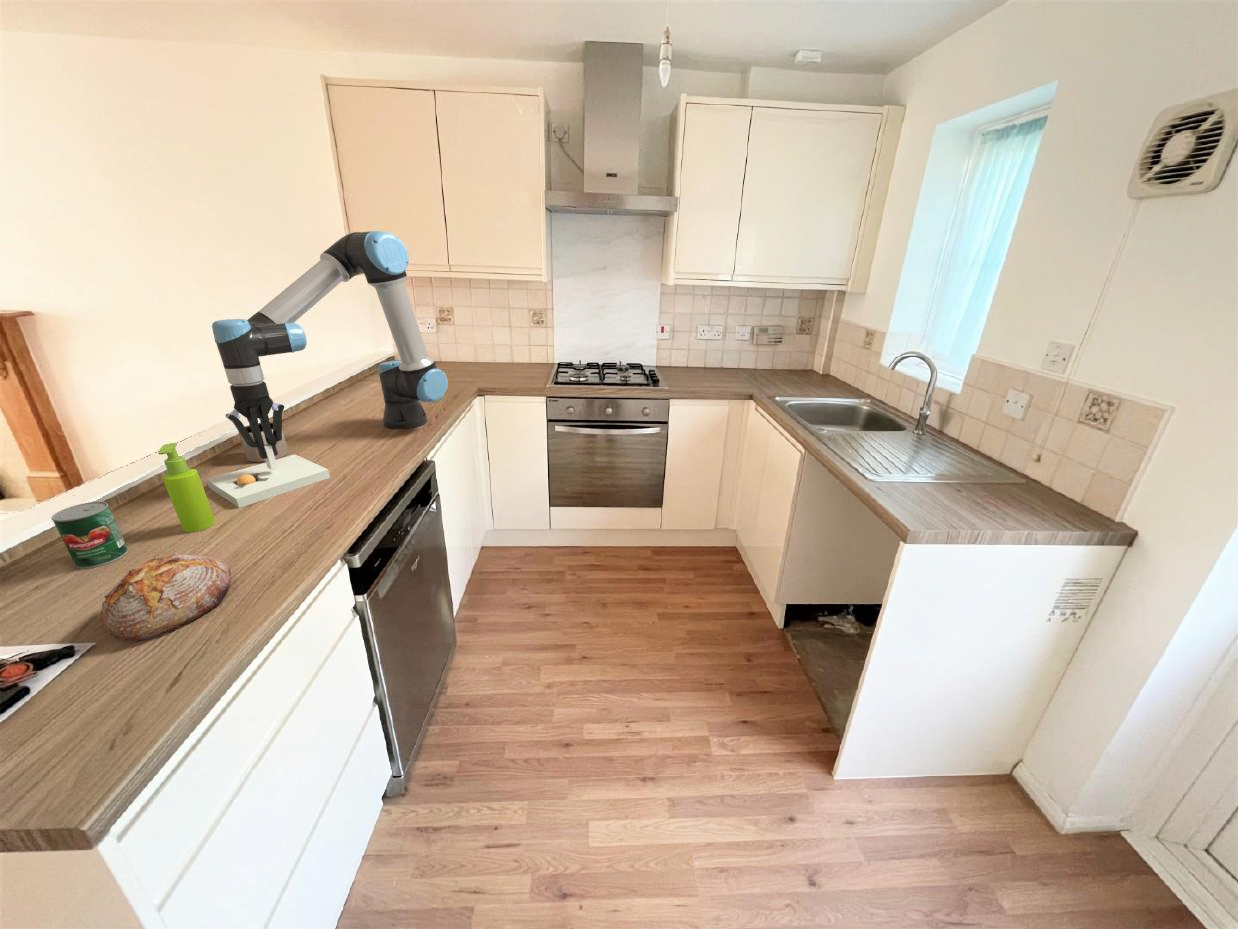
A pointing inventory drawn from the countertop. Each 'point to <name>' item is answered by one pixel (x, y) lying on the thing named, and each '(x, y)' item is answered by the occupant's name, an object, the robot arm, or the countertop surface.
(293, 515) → the countertop surface
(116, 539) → the canned tomato
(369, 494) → the countertop surface
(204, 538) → the countertop surface
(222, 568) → the bread
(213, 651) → the countertop surface
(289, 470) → the plate
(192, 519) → the soap dispenser
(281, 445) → the planter
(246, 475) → the ball
